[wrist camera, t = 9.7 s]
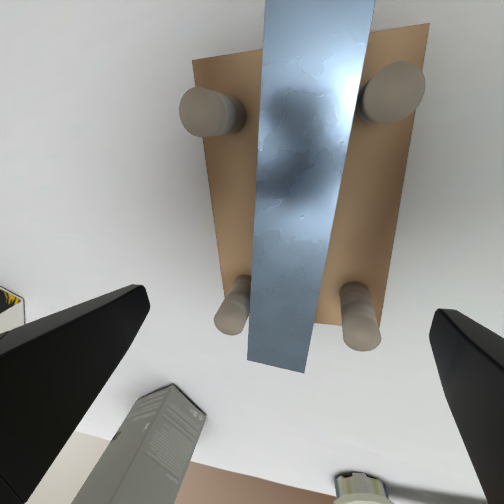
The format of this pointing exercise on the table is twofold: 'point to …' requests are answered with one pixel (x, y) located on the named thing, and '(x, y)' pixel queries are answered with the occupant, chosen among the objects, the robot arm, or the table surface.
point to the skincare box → (146, 453)
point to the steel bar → (300, 164)
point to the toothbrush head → (360, 490)
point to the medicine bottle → (10, 311)
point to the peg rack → (351, 187)
